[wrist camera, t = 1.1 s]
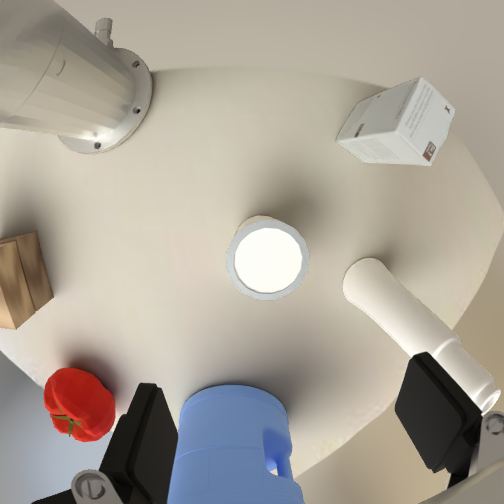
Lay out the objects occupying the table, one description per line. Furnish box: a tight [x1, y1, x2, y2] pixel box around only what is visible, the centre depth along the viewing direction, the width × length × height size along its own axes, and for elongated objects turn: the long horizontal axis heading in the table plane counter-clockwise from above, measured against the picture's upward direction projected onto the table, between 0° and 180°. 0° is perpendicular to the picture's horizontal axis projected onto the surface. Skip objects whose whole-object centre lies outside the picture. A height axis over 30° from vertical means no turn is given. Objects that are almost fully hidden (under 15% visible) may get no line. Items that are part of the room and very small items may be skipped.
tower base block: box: [0, 231, 54, 311], centre depth 26 cm, size 9×9×4 cm
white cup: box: [226, 215, 310, 300], centre depth 26 cm, size 7×7×7 cm
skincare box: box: [336, 76, 456, 166], centre depth 21 cm, size 6×4×12 cm
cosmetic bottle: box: [343, 258, 501, 415], centre depth 21 cm, size 6×6×22 cm
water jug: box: [167, 385, 305, 504], centre depth 23 cm, size 16×16×28 cm
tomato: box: [44, 368, 115, 442], centre depth 30 cm, size 11×12×9 cm
